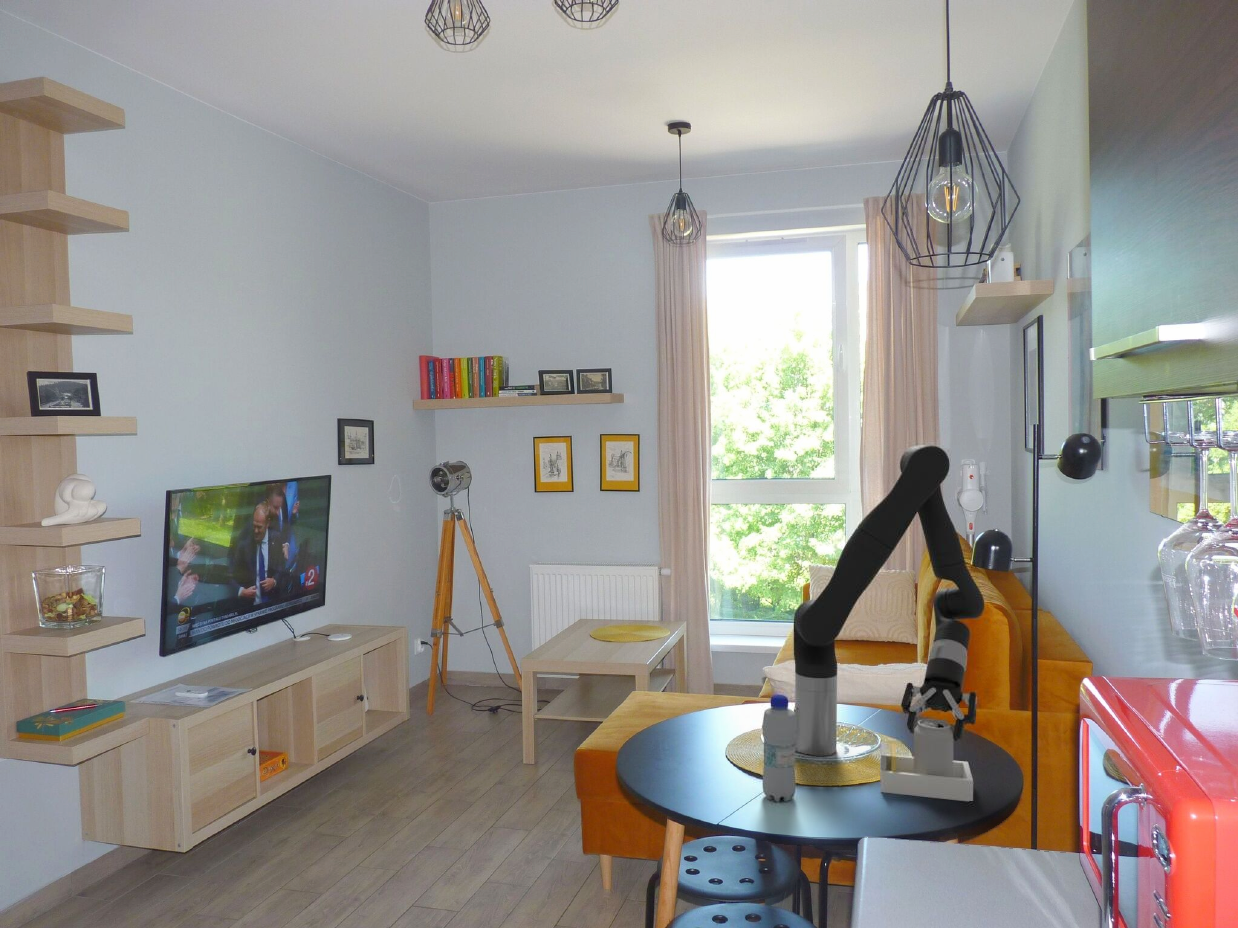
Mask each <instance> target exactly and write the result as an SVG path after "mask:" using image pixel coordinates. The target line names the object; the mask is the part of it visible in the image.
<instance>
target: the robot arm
mask: <svg viewBox="0 0 1238 928" xmlns="http://www.w3.org/2000/svg"><path fill="white" fill-rule="evenodd" d="M950 466H951V465H950V458H949V456H948V454H947V453H946V451H945V450H944V449H943V448H941V447H940V446H936V445H932V444H931V445H930V444H919V445H913V446H911V447H909V448H908V449H906V450H905V451H904V452H903V454H902V455H901V457H900V460H899V469H900V472H901V474H900V476H899V478H898V479H897V480H896V482H895V484H894V486H893V487H892V489H891V490H890V491H889V493H888V494H886V496H885V498H883V499H882V500H881V501H880V502H879V503H878V504H877V505H876V506H875V507H874V508H873V509H872V510H871V511H869V512H868V514H867V515H866V516H864V518H863V519H862V520H861V521H860V523H859V524H858V525H857V526H856V528H855V530H854V532H853V533H852V534H851V536H850V537H849V539H848V540H847V542H846V543H845V545H844V547H843V549H842V551H841V553H840V556H839V559H838V561H837V563H836V566H835V568H834V571H833V573H832V576H831V578H830V580H829V582H828V583H827V584H826V586H825V588H824V589H823V590H822V592H821V593H820V594H819V595H818V597H817V598H816V599H808V600H806V601H803V602H802V603H800V605H798V607H797V608H796V610H795V612H794V616H793V660H794V667H795V669H794V682H795V683H794V707H793V711H794V712H795V717H796V725H797V732H796V734H797V736H796V738H795V753H796V752H798V753H800V752H801V754H804V755H807V754H810V755H809V756H815V757H818V756H819V757H822V756H823V757H824V755H826V756H830V755H829V754H831V755H833V753H834V752H835V753H837V742H838V741H837V735H838V734H837V733H838V731H837V729H838V726H837V725H838V724H837V723H838V661H837V656H836V655H837V654H836V649H835V645H836V644H835V643H836V641H835V640H836V639H837V638H838V636H839V635H840V633H841V631H842V630H843V627H844V625H845V624H846V621H847V619H848V618H849V616H850V614H851V612H852V610H853V609H854V607H855V605H856V604H857V602H858V601H859V599H860V597H861V596H862V594H863V593H864V592H865V590H867V588H868V587H869V586H870V584H871V583H872V582H873V581H874V579H875V578H876V576H877V574H878V573H879V572H880V570H881V569H882V568H883V567H884V565H885V564H886V562H887V561H888V559H889V558H890V556H891V555H892V553H893V552H894V550H895V549H896V548H897V545H898V544H899V542H900V541H901V539H902V538H903V537H904V536H905V534H906V532H907V530H908V529H909V527H910V526H911V524H912V521H913V520H914V519H915V516H916V515H917V514H918V517H919V521H920V525H921V529H922V532H923V536H924V539H925V544H926V548H927V553H928V556H929V560H930V564H931V567H932V571H933V575H934V576H935V577H936V578H937V579H938V580H944V581H950V582H952V583H954V585H956V587H946V588H941V589H939V590H938V591H937V592H936V593H935V594H934V596H933V598H932V605H933V612H934V620H935V621H934V622H935V623H934V625H935V632H934V636H933V642H932V645H931V649H930V651H929V654H928V655H929V656H928V660H927V665H926V670H925V674H924V680H923V684H921V686H916V685H914V684H913V683H912V682H907V683H906V686H905V691H904V693H903V696H902V700H901V705H900V706H901V709H902V712H903V713H904V714H908V717H907V721H906V726H907V730H908V731H909V732H910V734H913V735H914V728H915V727H916V726H917V724H918V716H920V715H921V714H922V713H925V712H927V711H928V710H929V709H931V710H932V711H941V712H943V713H948V712H951V714H952V716H953V717H954V718H955V724H954V729H953V730H954V731H953V732H954V735H953V737H954V742H959V740H962V738H963V737H964V730H965V726H966V725H968V724H970V725H975V724H976V721H977V720H976V719H977V708H978V707H977V706H978V697H977V693H976V692H974V691H971V692H969V693H963V688H964V687H963V685H964V681H965V680H964V679H965V674H966V670H967V662H968V650H969V643H970V637H971V632H970V628H969V627H968V626H967V624H965V623H964V622H962V621H960V620H970V619H977V618H980V617H981V616H982V615H983V612H984V610H985V600H984V596H983V594H982V592H981V590H980V588H979V587H978V585H977V583H976V582H975V580H974V579H973V576H972V574H971V572H970V570H969V569H968V566H967V563H966V560H965V557H964V552H963V548H962V545H961V541H960V538H959V534H958V532H957V530H956V528H955V525H954V523H953V521H952V520H951V517H950V515H949V513H948V510H947V507H946V504H945V502H944V497H943V494H942V488H941V486H942V485H941V484H942V483H943V482H944V480H946V478H947V477H948V473H949V471H950ZM918 694H920V697H919V698H918V699H917V700H916V702H914V703H913V699H914V698H915V697H917V695H918ZM962 701H964V702H965V704H966V706H968V709H967V714H963V712H962V711H961V709H960V707H959V704H961V702H962ZM912 703H913V704H912ZM835 753H834V754H835Z"/></svg>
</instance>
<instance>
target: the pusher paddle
mask: <svg viewBox="0 0 1238 928" xmlns="http://www.w3.org/2000/svg"><path fill="white" fill-rule="evenodd" d="M890 754H891V771H894V772H897V755H898V751H897V743H890Z"/></svg>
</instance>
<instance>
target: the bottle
mask: <svg viewBox="0 0 1238 928" xmlns="http://www.w3.org/2000/svg"><path fill="white" fill-rule="evenodd" d="M761 729H762V733H761V734H762V736H763V771H762V792H763V794H764V795H765V797H766V798H767V800H770V801H771V800H772V799H773V798H774V801H775V802H777V803H778V802H780V799H781V798H783V801H784V802H789V800H792V799H793V798H794V796H795V794H796V789H797V788H796V786H797V785H796V769H795V767H796V765H795V763H796V762H795V759H796V757H795V756H796V751H795V738H796V736H797V734H796V732H797V725H796V717H795V712H794V710H792V709H790V708H789V699H788V697H787V696H786V695H784V694H774V695H772V696H771V697H770V707H769V708H766V709H765V710H764V712H763V718H762V725H761Z"/></svg>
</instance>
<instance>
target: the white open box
mask: <svg viewBox="0 0 1238 928" xmlns="http://www.w3.org/2000/svg"><path fill="white" fill-rule="evenodd" d="M880 793H887V794H893V795H894V794H895V795H905V796H914V797H924V798H931V799H932V798H933V799H943V800H949V801H950V800H952V801H962V802H969V801H973V802H974V779H973V775H972V772H971V769H970V765H969V761H964V760H963V761H962V760H954V759H953V777H944V776H934V775H924V774H914V756H910V755H899V754H897V772H894V771H891V753H887V741H886V740H881V741H880Z"/></svg>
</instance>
